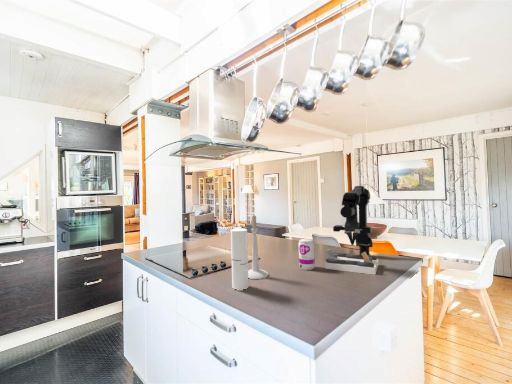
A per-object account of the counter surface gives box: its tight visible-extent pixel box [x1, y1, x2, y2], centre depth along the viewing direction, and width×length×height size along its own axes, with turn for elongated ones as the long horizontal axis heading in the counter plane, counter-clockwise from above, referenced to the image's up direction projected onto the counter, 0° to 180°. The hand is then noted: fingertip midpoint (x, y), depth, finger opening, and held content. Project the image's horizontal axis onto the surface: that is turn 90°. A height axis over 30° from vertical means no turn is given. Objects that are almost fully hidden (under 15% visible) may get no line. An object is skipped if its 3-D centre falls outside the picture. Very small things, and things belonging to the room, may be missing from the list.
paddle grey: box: [326, 248, 335, 257], centre depth 144 cm, size 4×2×5 cm, turn 150°
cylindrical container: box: [230, 228, 249, 291], centre depth 113 cm, size 7×7×25 cm
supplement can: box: [298, 238, 316, 271], centre depth 138 cm, size 8×8×15 cm
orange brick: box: [361, 252, 370, 260], centre depth 135 cm, size 4×2×5 cm, turn 151°
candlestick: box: [248, 215, 270, 280], centre depth 129 cm, size 13×13×30 cm
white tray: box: [324, 254, 379, 275], centre depth 138 cm, size 18×24×5 cm
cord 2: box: [333, 252, 378, 260], centre depth 145 cm, size 3×24×2 cm, turn 60°
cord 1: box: [325, 258, 374, 267], centre depth 132 cm, size 3×24×2 cm, turn 61°
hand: (352, 245), depth 138 cm, fingers closed
